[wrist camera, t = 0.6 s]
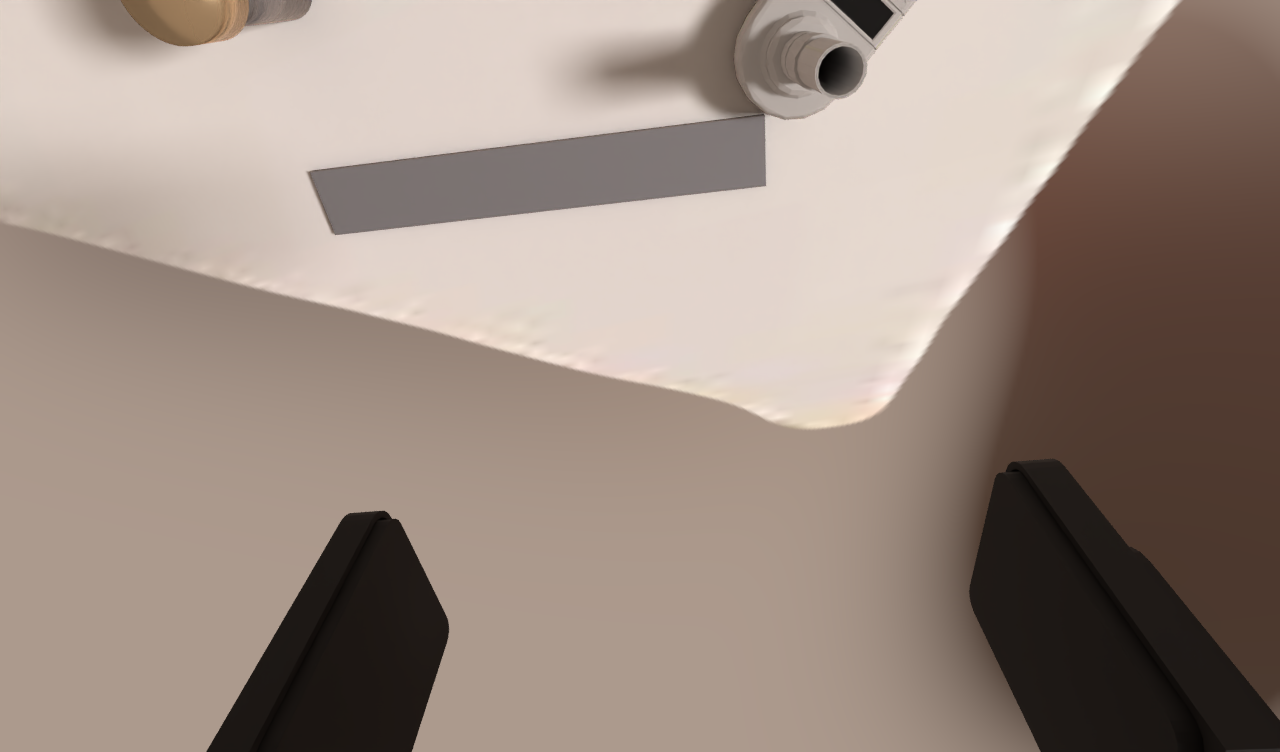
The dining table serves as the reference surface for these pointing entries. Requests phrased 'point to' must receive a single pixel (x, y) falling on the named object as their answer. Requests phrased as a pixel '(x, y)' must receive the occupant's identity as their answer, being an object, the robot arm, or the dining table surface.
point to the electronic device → (810, 51)
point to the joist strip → (546, 175)
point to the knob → (209, 17)
